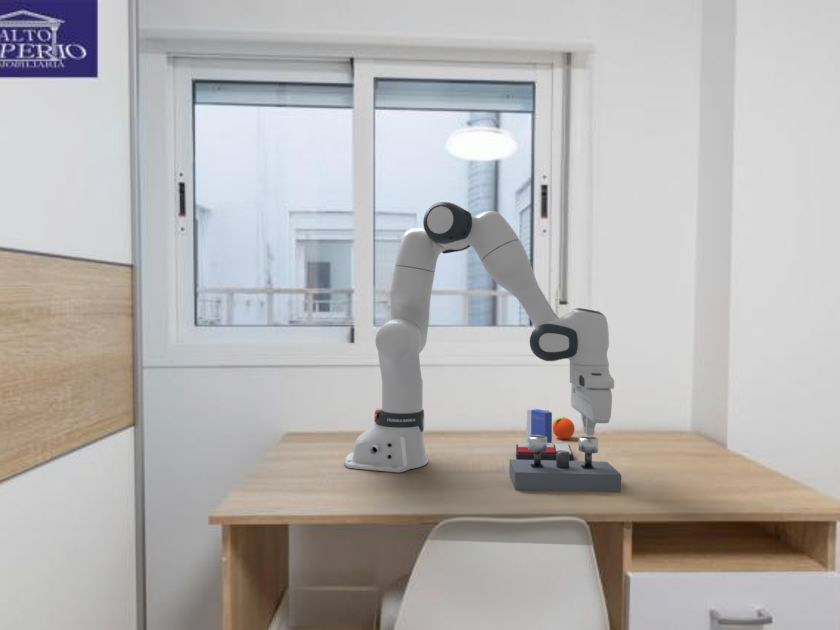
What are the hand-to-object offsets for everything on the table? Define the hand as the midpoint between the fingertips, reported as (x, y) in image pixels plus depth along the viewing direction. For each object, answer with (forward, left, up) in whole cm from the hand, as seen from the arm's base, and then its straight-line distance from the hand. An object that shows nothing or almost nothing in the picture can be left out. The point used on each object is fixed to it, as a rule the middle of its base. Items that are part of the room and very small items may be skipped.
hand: (588, 434), depth 116 cm
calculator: (-7, +19, -13) cm, 24 cm away
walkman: (-6, +30, -12) cm, 33 cm away
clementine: (+4, +43, -12) cm, 45 cm away
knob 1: (-12, 0, -8) cm, 14 cm away
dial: (-6, 0, -8) cm, 10 cm away
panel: (-6, 0, -12) cm, 13 cm away
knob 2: (0, 0, -8) cm, 8 cm away
